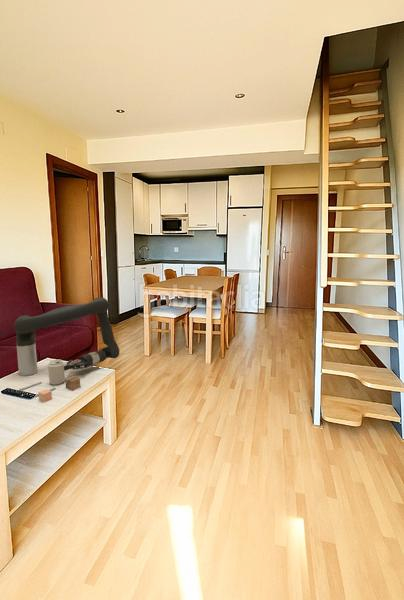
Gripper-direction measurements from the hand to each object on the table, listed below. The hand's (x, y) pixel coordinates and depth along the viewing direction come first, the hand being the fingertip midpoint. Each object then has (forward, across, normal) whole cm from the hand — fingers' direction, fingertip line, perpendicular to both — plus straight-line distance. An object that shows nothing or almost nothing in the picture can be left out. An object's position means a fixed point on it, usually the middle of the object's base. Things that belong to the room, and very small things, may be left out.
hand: (62, 368), depth 163 cm
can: (+4, 0, +6) cm, 7 cm away
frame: (+14, 0, +6) cm, 16 cm away
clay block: (+18, +13, +7) cm, 23 cm away
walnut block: (+3, +12, +6) cm, 14 cm away
